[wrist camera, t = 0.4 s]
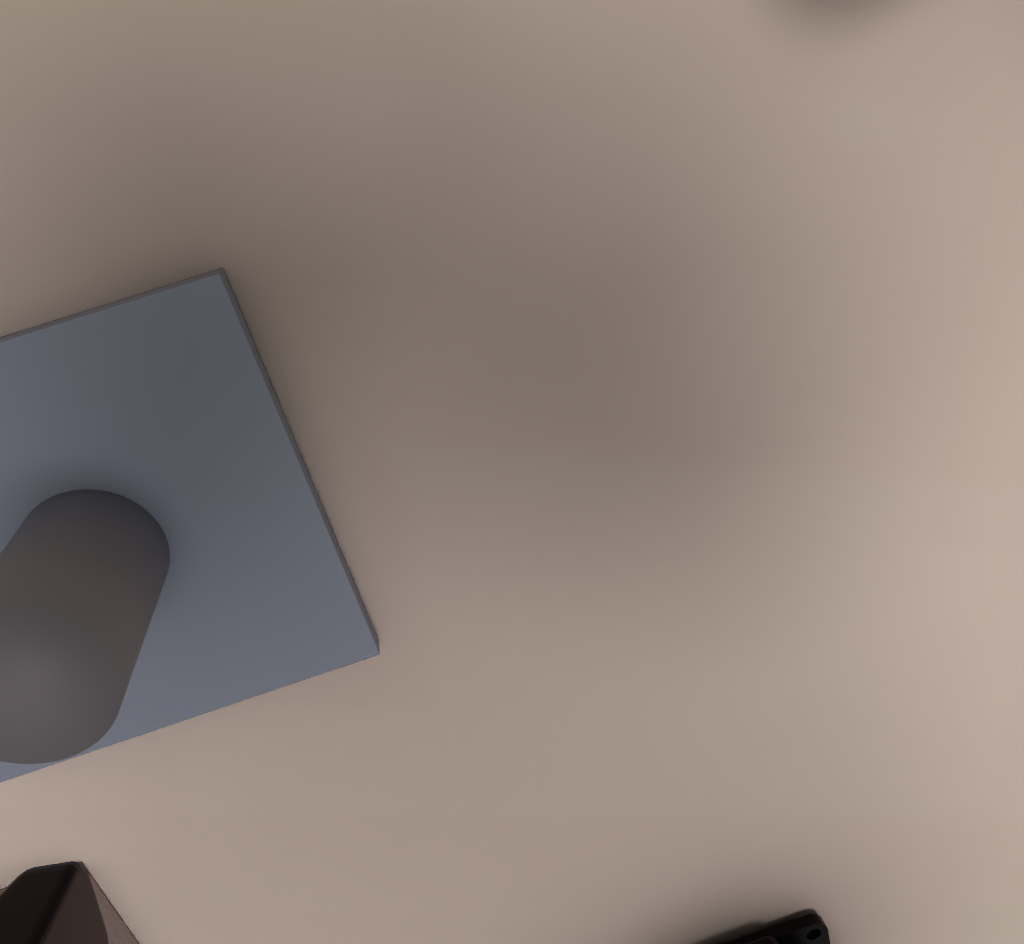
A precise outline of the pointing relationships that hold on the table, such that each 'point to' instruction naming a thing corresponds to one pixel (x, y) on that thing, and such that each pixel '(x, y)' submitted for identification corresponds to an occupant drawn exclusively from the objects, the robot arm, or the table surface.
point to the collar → (111, 919)
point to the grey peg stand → (154, 528)
